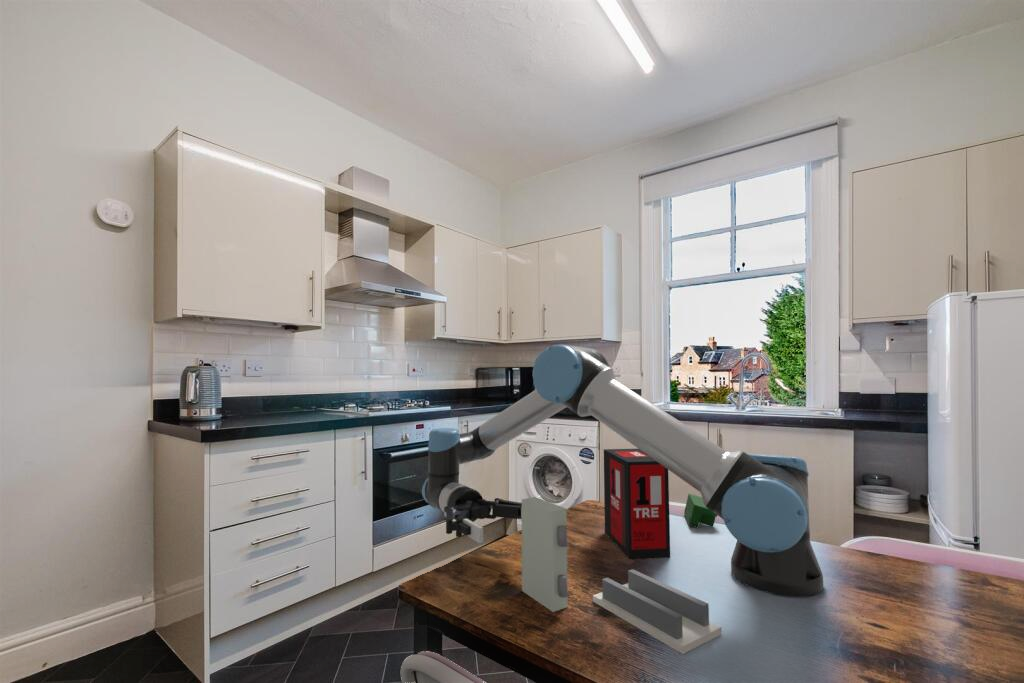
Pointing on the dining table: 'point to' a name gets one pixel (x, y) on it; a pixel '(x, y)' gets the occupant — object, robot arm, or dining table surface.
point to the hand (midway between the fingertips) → (512, 528)
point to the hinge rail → (659, 611)
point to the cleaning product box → (636, 503)
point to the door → (544, 552)
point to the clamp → (698, 512)
